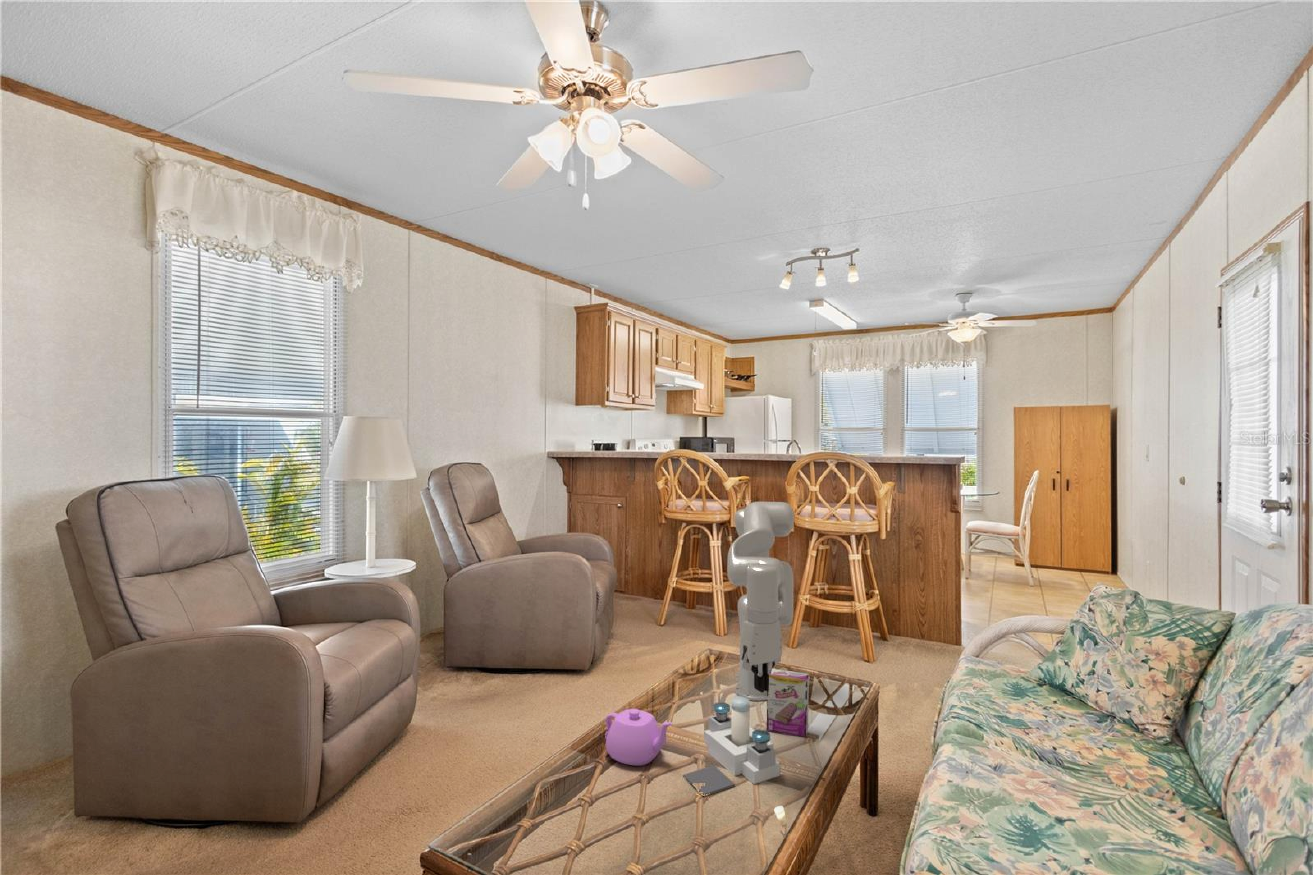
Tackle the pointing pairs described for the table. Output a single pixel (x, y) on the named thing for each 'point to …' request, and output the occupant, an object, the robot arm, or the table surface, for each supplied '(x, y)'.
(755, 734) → the plunger
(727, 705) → the plunger
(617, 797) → the table surface
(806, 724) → the candy bar box
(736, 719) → the cylinder
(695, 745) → the table surface
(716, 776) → the mat
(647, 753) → the teapot
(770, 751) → the housing
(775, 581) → the robot arm
